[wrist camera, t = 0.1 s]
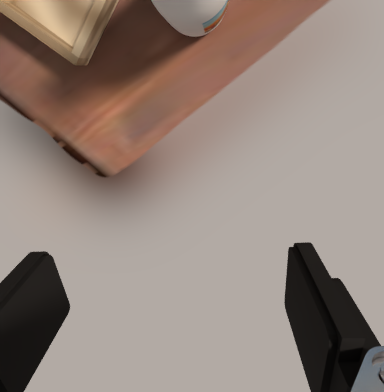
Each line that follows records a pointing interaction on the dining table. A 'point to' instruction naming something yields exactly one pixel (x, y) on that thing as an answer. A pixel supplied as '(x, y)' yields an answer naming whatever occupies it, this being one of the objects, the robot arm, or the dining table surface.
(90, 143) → the dining table surface
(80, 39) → the holder
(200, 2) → the milk bottle
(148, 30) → the dining table surface
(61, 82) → the dining table surface
